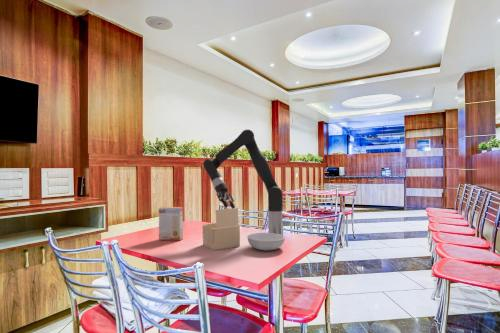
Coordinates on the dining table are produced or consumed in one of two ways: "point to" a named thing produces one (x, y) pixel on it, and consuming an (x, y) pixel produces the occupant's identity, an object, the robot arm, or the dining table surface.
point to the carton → (221, 237)
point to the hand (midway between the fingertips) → (230, 207)
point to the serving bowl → (266, 241)
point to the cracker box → (170, 223)
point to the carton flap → (227, 218)
